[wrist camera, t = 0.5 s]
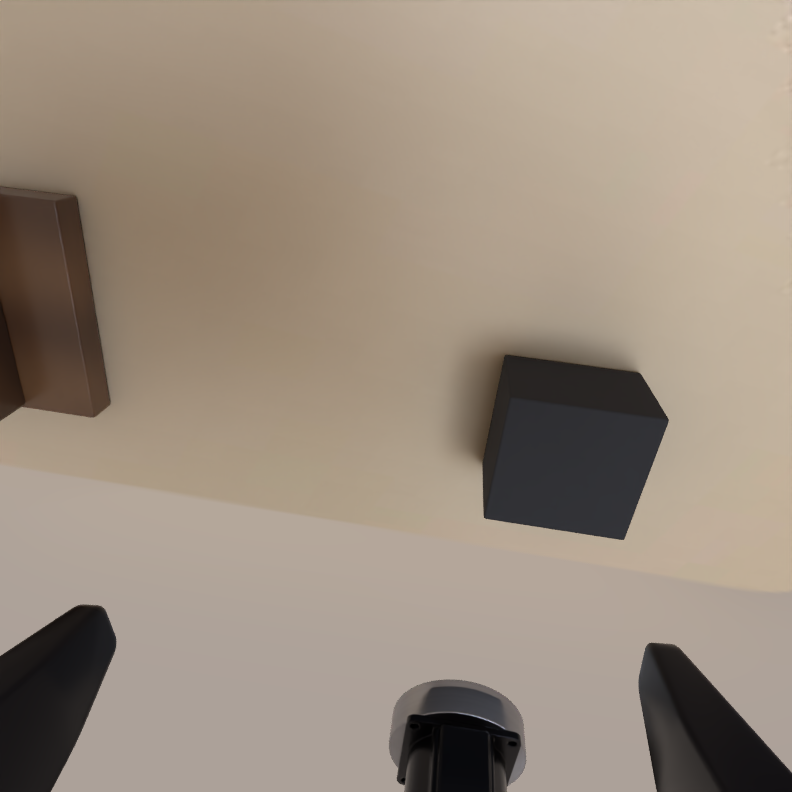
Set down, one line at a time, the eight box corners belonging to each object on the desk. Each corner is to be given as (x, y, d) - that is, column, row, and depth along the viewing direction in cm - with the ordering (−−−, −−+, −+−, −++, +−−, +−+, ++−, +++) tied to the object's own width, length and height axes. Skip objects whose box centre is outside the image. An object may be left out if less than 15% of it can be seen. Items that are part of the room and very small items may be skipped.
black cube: (604, 482, 23) (624, 541, 20) (482, 464, 23) (483, 519, 20) (641, 372, 21) (670, 420, 18) (504, 353, 21) (509, 397, 18)
